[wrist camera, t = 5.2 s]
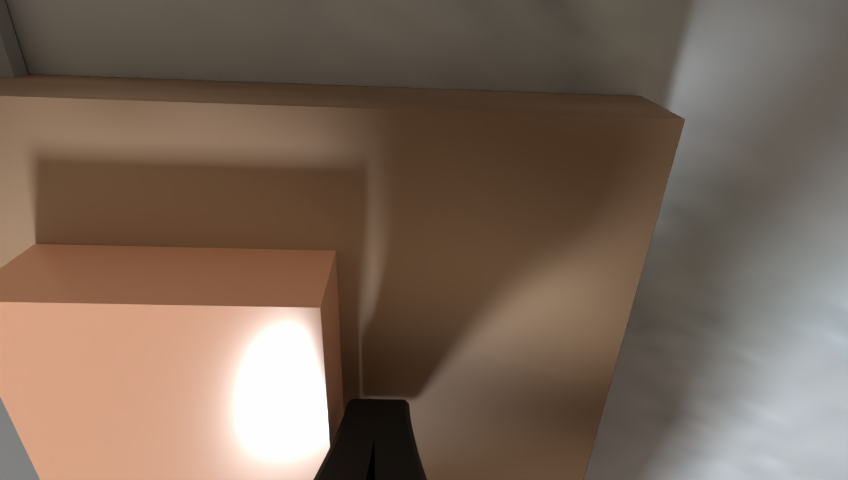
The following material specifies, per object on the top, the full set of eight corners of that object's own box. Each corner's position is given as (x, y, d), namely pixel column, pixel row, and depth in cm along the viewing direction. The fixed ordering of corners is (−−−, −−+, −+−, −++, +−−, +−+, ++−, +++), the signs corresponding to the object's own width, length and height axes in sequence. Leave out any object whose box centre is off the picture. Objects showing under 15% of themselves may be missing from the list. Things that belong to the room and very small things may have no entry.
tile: (348, 501, 14) (339, 577, 12) (128, 500, 14) (87, 577, 12) (335, 250, 10) (320, 307, 8) (34, 243, 10) (-46, 301, 8)
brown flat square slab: (544, 505, 17) (558, 565, 16) (134, 503, 17) (101, 565, 15) (640, 96, 11) (685, 119, 9) (-21, 72, 10) (-111, 92, 9)
